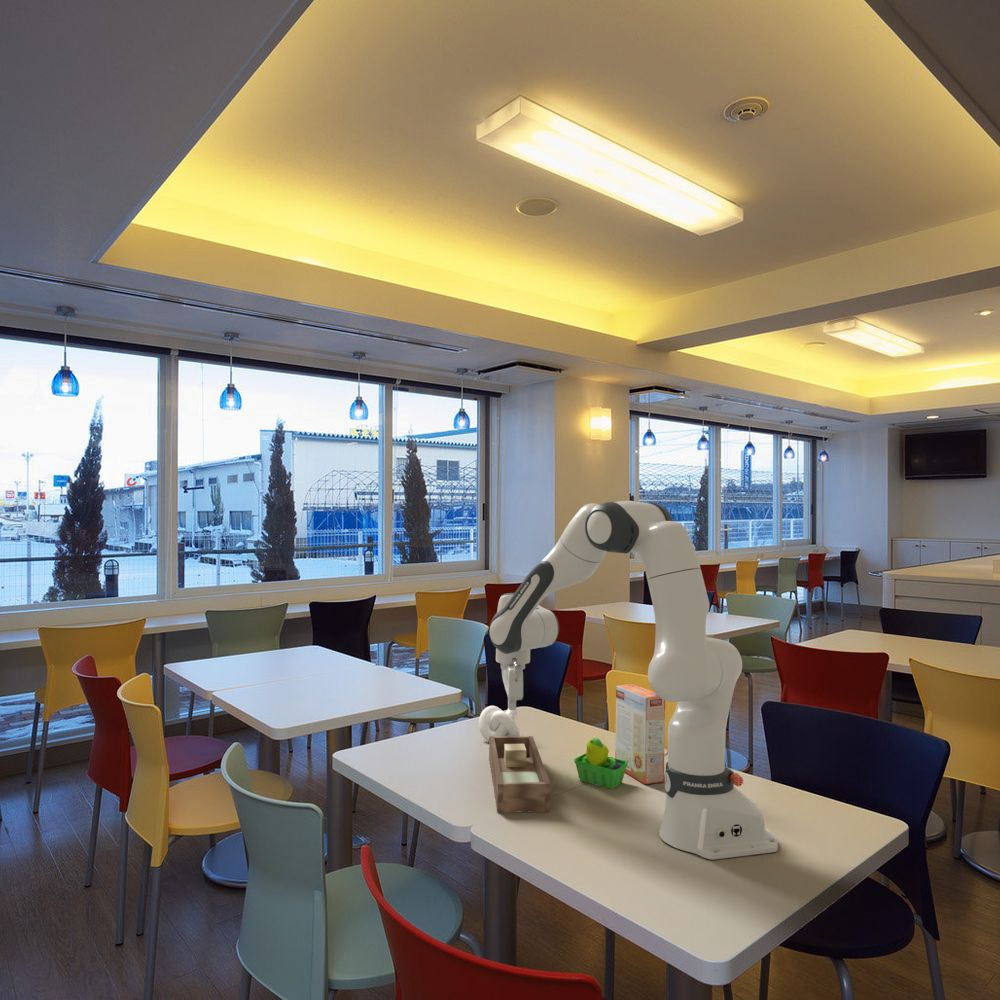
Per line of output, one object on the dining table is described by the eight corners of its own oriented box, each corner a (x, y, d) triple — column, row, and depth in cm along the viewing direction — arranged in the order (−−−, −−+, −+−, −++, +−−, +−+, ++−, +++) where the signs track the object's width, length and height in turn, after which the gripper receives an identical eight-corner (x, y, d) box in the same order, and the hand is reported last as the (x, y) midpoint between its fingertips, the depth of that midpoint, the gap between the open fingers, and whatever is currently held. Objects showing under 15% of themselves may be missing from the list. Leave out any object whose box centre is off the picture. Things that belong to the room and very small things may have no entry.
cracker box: (665, 782, 176) (666, 695, 176) (644, 785, 174) (645, 697, 174) (634, 764, 189) (635, 682, 189) (614, 766, 187) (614, 684, 187)
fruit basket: (629, 782, 176) (629, 735, 176) (611, 793, 169) (612, 744, 169) (588, 772, 183) (588, 726, 183) (569, 782, 175) (569, 735, 176)
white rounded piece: (490, 730, 217) (491, 700, 217) (528, 736, 212) (529, 704, 212) (474, 741, 206) (475, 709, 206) (514, 747, 202) (514, 714, 202)
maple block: (524, 759, 182) (524, 743, 182) (526, 766, 177) (526, 750, 177) (504, 760, 182) (504, 743, 182) (505, 767, 177) (505, 750, 177)
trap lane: (532, 759, 192) (532, 736, 192) (550, 811, 158) (550, 783, 158) (489, 759, 191) (489, 736, 191) (497, 812, 157) (497, 784, 157)
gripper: (529, 663, 178) (528, 720, 178) (521, 647, 198) (520, 698, 198) (503, 663, 177) (502, 720, 177) (498, 647, 198) (497, 698, 198)
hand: (511, 708), depth 188 cm, fingers closed
